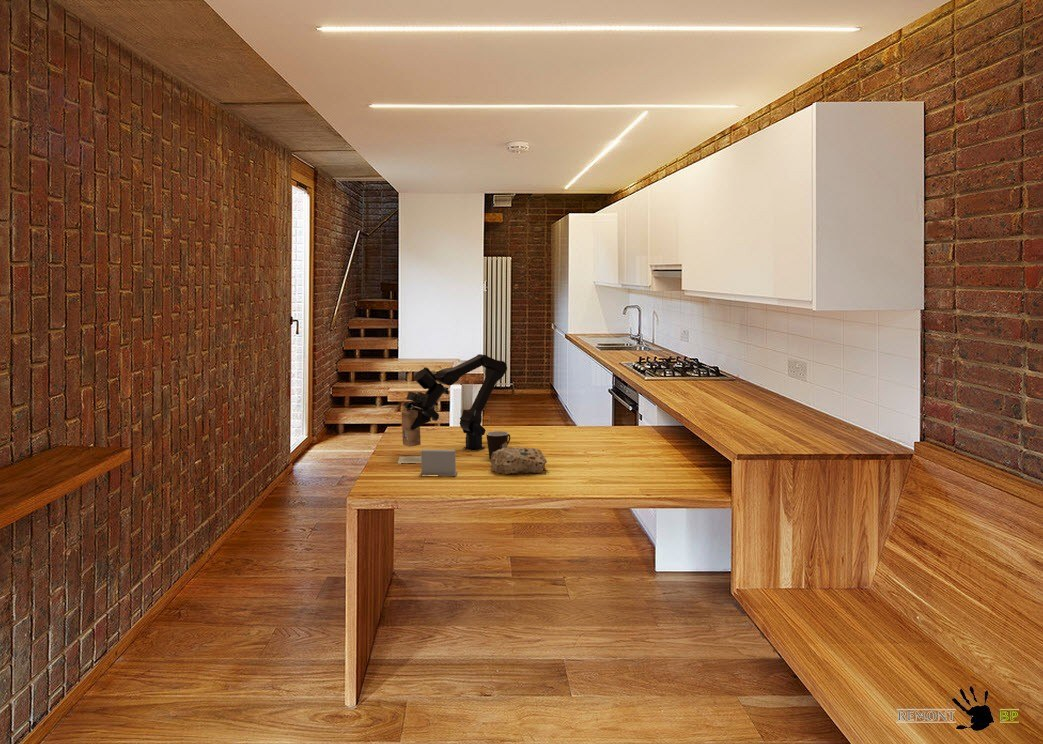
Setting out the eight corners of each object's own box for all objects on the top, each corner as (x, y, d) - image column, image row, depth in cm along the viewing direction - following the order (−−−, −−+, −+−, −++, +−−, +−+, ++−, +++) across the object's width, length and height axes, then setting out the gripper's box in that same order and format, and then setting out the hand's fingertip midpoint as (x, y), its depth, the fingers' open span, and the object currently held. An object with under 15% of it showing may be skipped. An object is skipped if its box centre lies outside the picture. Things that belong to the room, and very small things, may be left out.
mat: (424, 463, 288) (424, 462, 288) (398, 464, 287) (398, 463, 287) (425, 456, 298) (425, 455, 297) (399, 457, 296) (399, 456, 296)
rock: (540, 466, 286) (544, 442, 283) (547, 485, 273) (551, 460, 269) (487, 463, 283) (490, 439, 279) (491, 482, 269) (494, 457, 266)
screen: (457, 473, 273) (457, 449, 272) (455, 476, 269) (455, 452, 267) (422, 473, 274) (421, 448, 273) (419, 476, 270) (419, 451, 268)
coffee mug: (492, 462, 288) (492, 436, 287) (482, 457, 296) (482, 432, 294) (519, 458, 293) (519, 433, 292) (509, 453, 301) (509, 429, 300)
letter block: (414, 442, 295) (412, 409, 293) (420, 444, 291) (419, 411, 289) (402, 444, 291) (400, 411, 290) (408, 446, 288) (407, 413, 286)
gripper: (406, 380, 298) (382, 412, 292) (431, 386, 283) (406, 419, 278) (424, 398, 304) (401, 428, 298) (449, 404, 289) (425, 437, 284)
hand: (408, 428), depth 289 cm, fingers closed on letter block, 5 cm apart
